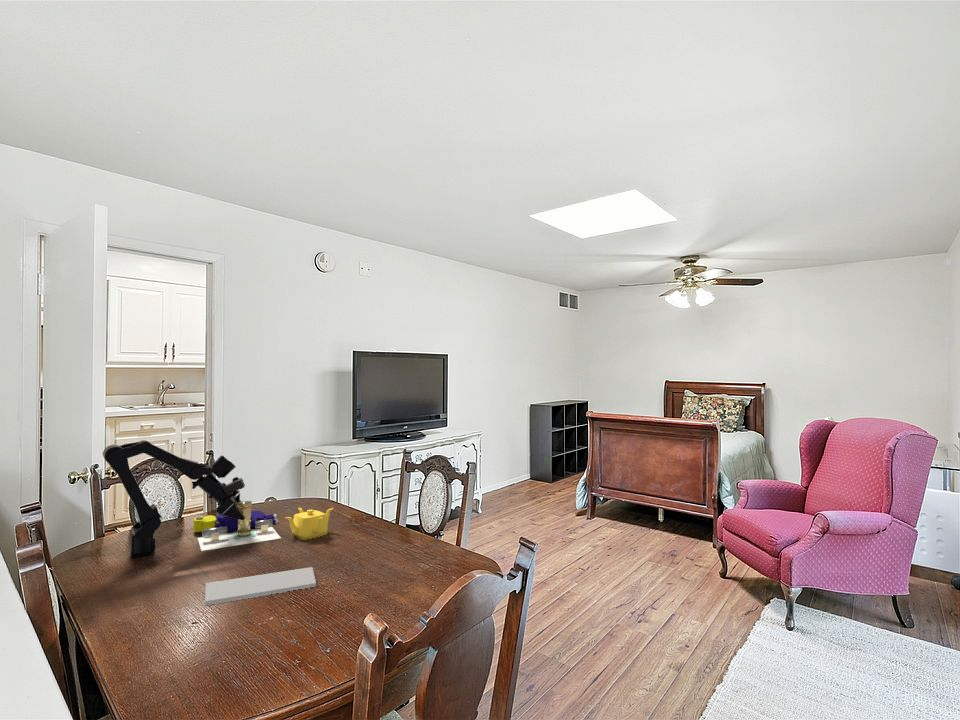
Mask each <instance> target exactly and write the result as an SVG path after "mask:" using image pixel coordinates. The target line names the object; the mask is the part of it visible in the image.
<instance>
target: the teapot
mask: <svg viewBox="0 0 960 720" xmlns="http://www.w3.org/2000/svg"><path fill="white" fill-rule="evenodd" d="M297 509H298V512H299V513H294V515H293V518H292V516H286V517H284V518H285V519H287V520H288V521H289V527H290V530H291V533H292V534H293V535H294V537H295V538H296V539H298V540H300V541H302V540H303V541H307V539H309V540H313V539H312V538H314V539H317V538H316V537H318V538H321V537H324V536H323V535H325V536H327V535H326V534H328V531H329V530H328V527H329V526H328V524H329V521H330V514H331V511H332V510H333V509H334V507H331V508H328V509H327V510H326V512H322V511H320V510H315V509H308V510H306V511H304V510H303V509H302V507H298V508H297ZM320 536H321V537H320Z"/></svg>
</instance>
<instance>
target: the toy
mask: <svg viewBox="0 0 960 720" xmlns="http://www.w3.org/2000/svg"><path fill="white" fill-rule="evenodd" d="M269 519H272V521H273V525H276V524H278V523H279V519H278V518H277V514H276V513H271V514H266V513H265V512H263V511H262V510H251V522H250V529H256V528H255V521H261V520H269ZM226 526H227V533H232V532H237V528H238V519H236V518H232V517H228V516H223V515H219V514H217V515H216V516H215V515H204V516H202V515H198V516H195V517H194V518H193V525H192V530H193V532H196V533H202V530H205V529H212V528H219V527H226Z"/></svg>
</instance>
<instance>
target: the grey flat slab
mask: <svg viewBox="0 0 960 720" xmlns="http://www.w3.org/2000/svg"><path fill="white" fill-rule="evenodd" d="M315 586H316V587H317V581H316V577H315V573H314V568H313V566H310V567H309V566H308V567H304V568H297V569H296V568H295V569H291V570H283V571H277V572H270V573H263V574H256V575H251V576H245V577H237V578H232V579H231V578H229V579H225V580H219V581H217V580H216V581H211V582H206V583H205V591H204V592H205V593H204V607H207V605H208V606H213V605H212V604H214V605H218V604H217V603H220V604H225V603H224V602H226V603H231V602H230V601H232V602H237V600H238V601H242V599H243V600H248V598H249V599H254V597H255V598H260V597H266V596H271V594H273V595H277V594H276V593H279V594H283V592H284V593H288V592H287V591H290V592H294V591H293V590H296V591H299V590H298V589H302V590H306V589H305V588H308V589H311V588H310V587H314V588H316V587H315ZM259 596H260V597H259Z"/></svg>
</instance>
